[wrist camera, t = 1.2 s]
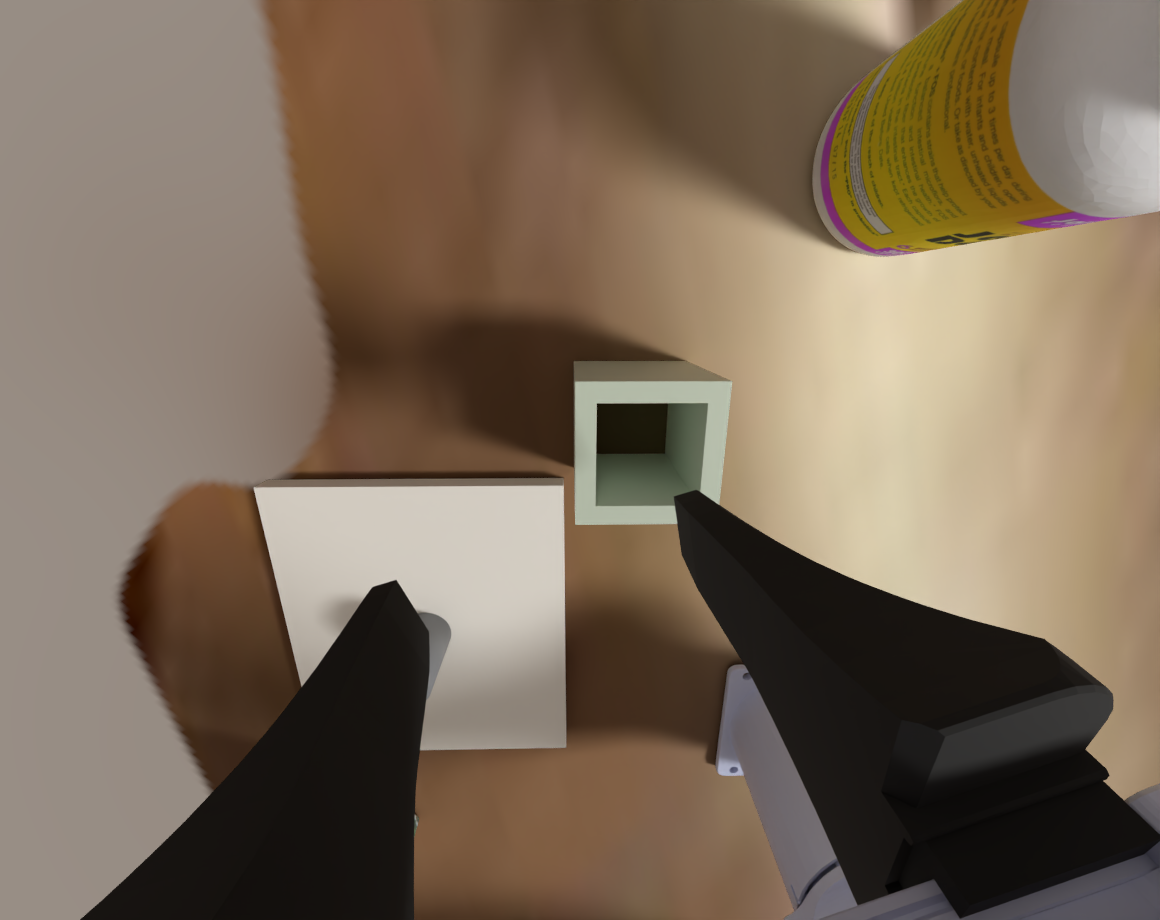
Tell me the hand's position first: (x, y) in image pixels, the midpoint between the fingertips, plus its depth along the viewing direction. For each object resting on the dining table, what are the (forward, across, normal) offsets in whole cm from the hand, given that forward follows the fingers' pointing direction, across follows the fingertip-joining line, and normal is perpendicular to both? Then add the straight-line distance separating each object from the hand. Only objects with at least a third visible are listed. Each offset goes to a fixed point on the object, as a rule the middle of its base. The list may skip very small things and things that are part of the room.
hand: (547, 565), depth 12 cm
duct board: (+9, +8, +10) cm, 15 cm away
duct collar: (+10, -5, +2) cm, 11 cm away
